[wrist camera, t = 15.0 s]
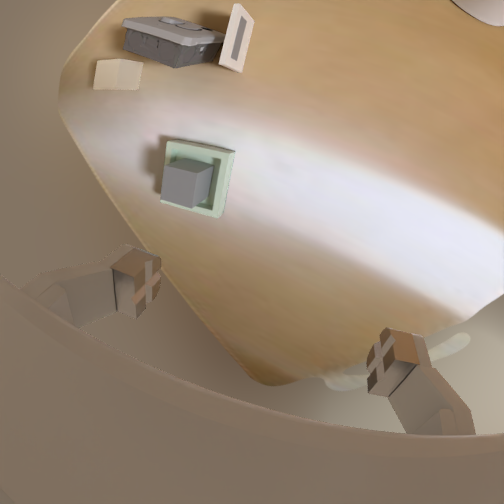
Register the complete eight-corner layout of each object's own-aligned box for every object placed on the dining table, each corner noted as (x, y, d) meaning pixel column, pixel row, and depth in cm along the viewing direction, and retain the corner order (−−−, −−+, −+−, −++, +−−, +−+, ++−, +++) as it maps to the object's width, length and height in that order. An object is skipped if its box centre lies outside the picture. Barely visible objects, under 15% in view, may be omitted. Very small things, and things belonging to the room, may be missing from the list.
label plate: (249, 20, 24) (233, 3, 19) (255, 21, 24) (240, 3, 19) (236, 72, 28) (218, 64, 23) (242, 73, 28) (225, 64, 23)
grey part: (184, 158, 33) (164, 165, 29) (214, 165, 33) (197, 173, 28) (180, 188, 35) (160, 199, 31) (208, 196, 35) (191, 208, 30)
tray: (175, 139, 33) (167, 141, 31) (235, 151, 32) (229, 153, 30) (168, 197, 37) (160, 202, 35) (223, 212, 36) (217, 218, 34)
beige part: (121, 63, 30) (97, 60, 25) (143, 62, 29) (120, 58, 25) (116, 89, 32) (92, 89, 27) (138, 90, 31) (115, 89, 27)
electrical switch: (234, 38, 26) (198, 22, 18) (215, 73, 29) (174, 70, 21) (173, 17, 26) (127, 4, 18) (157, 50, 29) (109, 46, 21)
